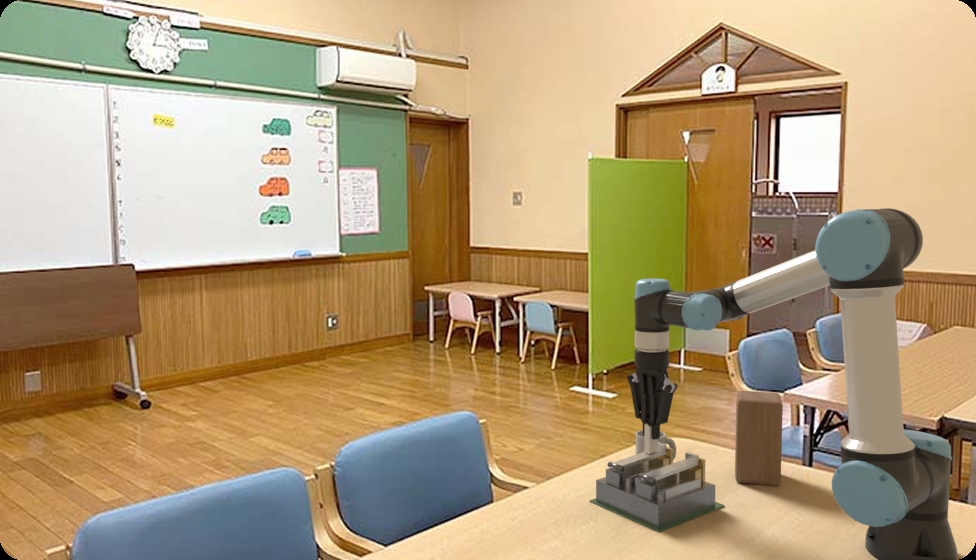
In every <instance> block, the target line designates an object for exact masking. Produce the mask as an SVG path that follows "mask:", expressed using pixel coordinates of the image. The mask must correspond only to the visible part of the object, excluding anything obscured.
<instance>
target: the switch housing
mask: <svg viewBox="0 0 976 560" xmlns="http://www.w3.org/2000/svg"><path fill="white" fill-rule="evenodd" d="M673 463H674V460H673V449H672V448H670V447H669V446H667V451H666V454H665V455H663V456H660V457H657V458H654V459H651V460H649V463H648V464H646V465H645V462H642V463H640V464H637V465H634V466H631V467H628V468H625V469H624V471H623V472H621V471H618V470H615V469H613V468H610V467H608V468H606V469H605V477H602V478H598V479H596V480H595V481H596V482H595V495H596V496H595V498H592V499H590V500H589V502H590V503H592V504H594V505H597V506H598V507H601V508H603V509H606V510H608V511H610V512H613V513H614V514H617V515H619V516H621V517H624V518H625V519H628V520H630V521H633V522H635V523H637V524H639V525H641V526H643V527H647V528H648V529H651V530H653V531H655V532H658V533H660V532H663V531H665V530H667V529H671V528H672V527H675V526H679V525H681V524H683V523H686V522H688V521H691V520H694V519H696V518H699V517H701V516H703V515H707V514H709V513H711V512H714V511H717V510H719V509H720V510H721V509H722V508H724V507H725V506H726V505H725V504H722V503H720V502H717V501H716V484H713V483H711V482H708V481H706V459H705V458H702V457H699V461H698V465H697V466H694V467H692V468H689V469H686V470H684V471H681V472H678V473H676V474H673V475H670V476H667V477H665V478H662V479H659V480H657V481H656V482H655V484H652V483H649V482H647V481H644V480H642V479H639V478H638V475H639V473H642V474H645V473H648V472H651V471H654V470H656V469H659V468H662V467H665V466H667V465H670V464H673Z"/></svg>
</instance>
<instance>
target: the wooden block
mask: <svg viewBox="0 0 976 560" xmlns="http://www.w3.org/2000/svg"><path fill="white" fill-rule="evenodd" d="M735 398H736V399H735V400H736V403H735V404H736V406H735V407H736V408H735V411H736V412H735V443H734V444H735V445H734V447H735V450H734V453H735V455H734V457H735V458H734V474H735V475H734V476H735V477H734V479H735V481H736V482H737V483H742V484H751V485H752V484H753V485H763V486H774V487H777V486H780V485H781V482H782V481H781V480H782V478H781V476H782V451H783V449H782V448H783V447H782V446H783V444H782V443H783V411H784V409H783V408H784V406H783V405H784V404H783V401H782V397H781V395H780V393H778V392H771V391H770V392H769V391H754V390H753V391H751V390H739V391H737V393H736V397H735Z"/></svg>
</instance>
